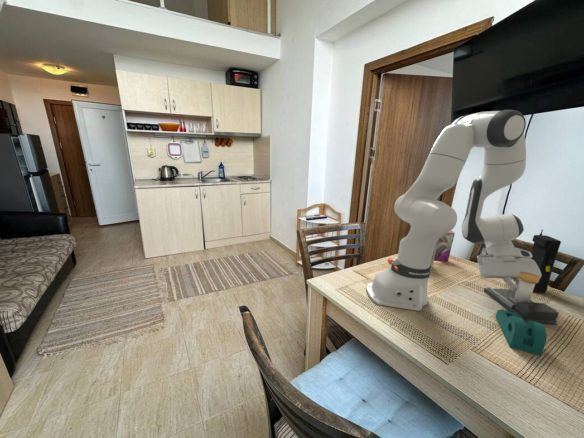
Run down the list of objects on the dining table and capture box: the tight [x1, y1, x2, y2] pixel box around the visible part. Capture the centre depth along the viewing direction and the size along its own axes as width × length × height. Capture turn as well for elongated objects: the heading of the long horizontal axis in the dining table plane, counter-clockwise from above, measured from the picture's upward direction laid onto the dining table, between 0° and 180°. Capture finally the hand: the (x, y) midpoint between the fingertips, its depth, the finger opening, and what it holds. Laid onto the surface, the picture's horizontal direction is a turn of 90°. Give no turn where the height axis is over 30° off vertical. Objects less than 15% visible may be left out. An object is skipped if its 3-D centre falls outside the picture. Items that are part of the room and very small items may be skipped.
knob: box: [508, 272, 540, 306], centre depth 86 cm, size 5×5×12 cm
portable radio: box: [530, 229, 562, 294], centre depth 98 cm, size 8×6×25 cm
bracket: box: [494, 309, 548, 357], centre depth 75 cm, size 18×7×8 cm, turn 153°
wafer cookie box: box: [434, 230, 455, 263], centre depth 125 cm, size 11×5×16 cm, turn 77°
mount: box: [483, 286, 560, 326], centre depth 88 cm, size 19×10×5 cm, turn 177°
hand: (516, 290), depth 89 cm, fingers closed, pressing on knob
